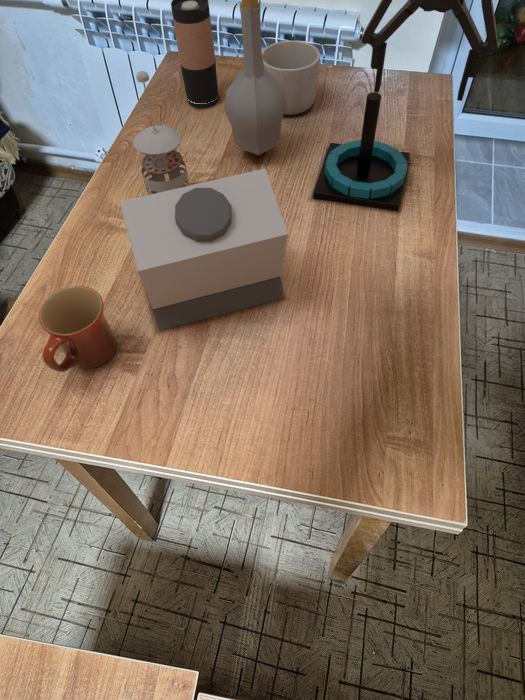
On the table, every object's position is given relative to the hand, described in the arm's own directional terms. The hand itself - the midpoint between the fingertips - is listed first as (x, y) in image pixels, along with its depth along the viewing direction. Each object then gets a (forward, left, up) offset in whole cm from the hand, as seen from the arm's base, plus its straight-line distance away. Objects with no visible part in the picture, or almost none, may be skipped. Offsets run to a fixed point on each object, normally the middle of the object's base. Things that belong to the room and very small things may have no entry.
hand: (418, 92), depth 83 cm
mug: (+40, +52, -18) cm, 68 cm away
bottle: (+29, -3, -18) cm, 34 cm away
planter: (+27, -22, -18) cm, 39 cm away
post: (+7, 0, -18) cm, 19 cm away
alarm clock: (+26, +34, -18) cm, 46 cm away
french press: (+41, +15, -18) cm, 47 cm away
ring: (+7, 0, -16) cm, 18 cm away
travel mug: (+47, -20, -18) cm, 54 cm away
